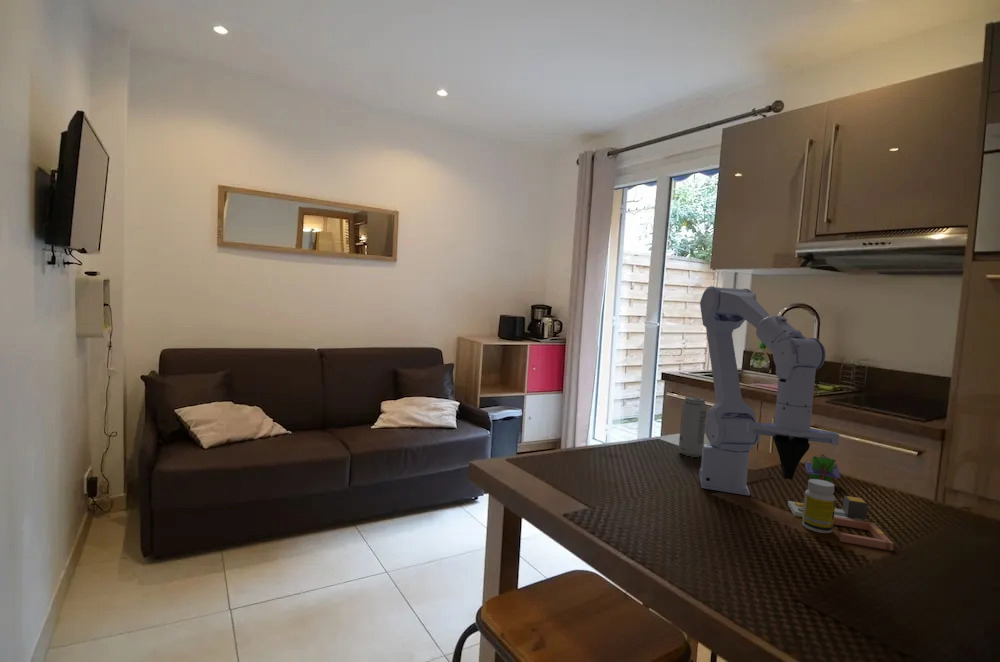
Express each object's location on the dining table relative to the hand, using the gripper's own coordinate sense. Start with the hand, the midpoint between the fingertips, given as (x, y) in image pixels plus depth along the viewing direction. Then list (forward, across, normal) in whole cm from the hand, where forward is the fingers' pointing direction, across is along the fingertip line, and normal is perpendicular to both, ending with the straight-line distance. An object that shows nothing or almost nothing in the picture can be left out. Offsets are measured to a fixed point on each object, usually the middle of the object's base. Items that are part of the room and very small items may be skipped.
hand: (787, 477), depth 94 cm
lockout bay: (+8, +12, 0) cm, 15 cm away
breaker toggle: (+7, +13, +8) cm, 17 cm away
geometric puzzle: (+8, +13, +30) cm, 33 cm away
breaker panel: (+8, +8, +8) cm, 14 cm away
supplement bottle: (+9, +6, 0) cm, 10 cm away
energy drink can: (+8, -15, +39) cm, 42 cm away
